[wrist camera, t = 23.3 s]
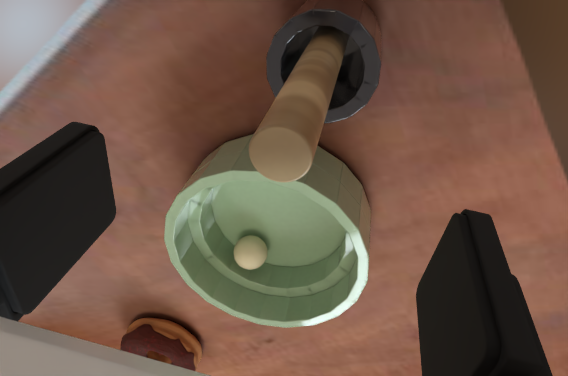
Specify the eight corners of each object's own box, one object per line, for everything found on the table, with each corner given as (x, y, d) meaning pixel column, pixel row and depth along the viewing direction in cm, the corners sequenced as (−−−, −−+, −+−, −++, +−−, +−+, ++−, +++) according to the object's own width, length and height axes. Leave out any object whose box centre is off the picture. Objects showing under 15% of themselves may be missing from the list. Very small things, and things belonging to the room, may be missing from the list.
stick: (313, 23, 25) (236, 137, 12) (343, 10, 24) (296, 116, 11) (325, 53, 26) (265, 190, 13) (354, 41, 25) (322, 173, 12)
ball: (253, 223, 35) (228, 244, 33) (277, 247, 34) (253, 270, 33) (248, 236, 37) (224, 257, 36) (270, 259, 37) (247, 280, 35)
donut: (173, 305, 45) (157, 334, 42) (220, 356, 49) (209, 387, 46) (115, 320, 50) (96, 347, 46) (162, 366, 54) (148, 394, 50)
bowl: (163, 158, 34) (126, 198, 29) (336, 105, 28) (326, 144, 23) (240, 284, 41) (221, 333, 36) (391, 263, 35) (392, 318, 30)
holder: (274, 13, 25) (248, 35, 21) (365, -26, 23) (360, -11, 18) (306, 97, 28) (290, 135, 23) (391, 70, 26) (392, 105, 21)
